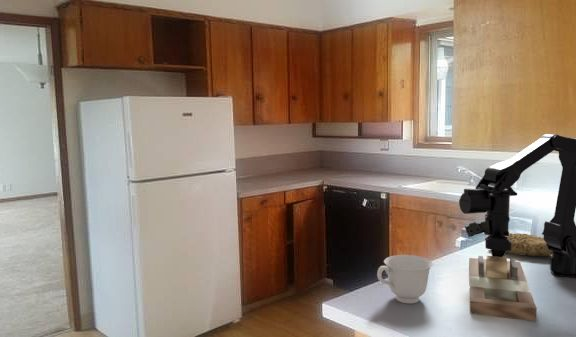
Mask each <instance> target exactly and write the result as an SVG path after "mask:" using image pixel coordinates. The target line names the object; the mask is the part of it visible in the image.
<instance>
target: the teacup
mask: <svg viewBox="0 0 576 337" xmlns="http://www.w3.org/2000/svg"><path fill="white" fill-rule="evenodd" d="M383 263H384V264H385V265H380V266H379V267H378V269H377V273H376V275H377V279H378V281H379V282H380V283H382V284H384V285H388V286H389V288H390V291H391V292H392V293H393V294H394V295H396V301H398V302H399V303H402V304H408V305H409V304H416V303H418V302H419V301H420V297H421V296H423V295H424V294H425V292H426V291H427V287H428V278H429V274H430V269H431V267H433V266H434V265H433V261H431V260H430V259H428V258H426V257H423V256H419V255H415V254H414V255H413V254H395V255H390V256H388V257H386V258H385V259H384V260H383ZM383 271H385V273H386V275H387V278H388V280H386V279H384V278H383V275H382V274H383Z"/></svg>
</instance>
